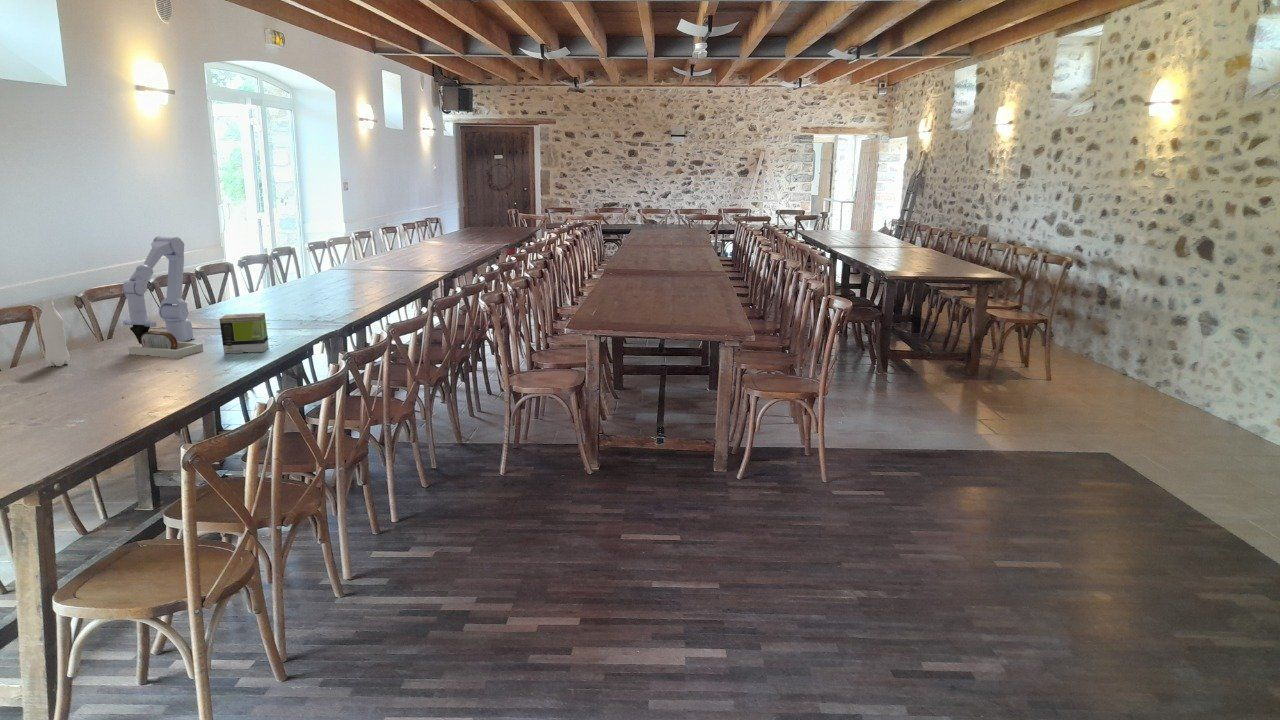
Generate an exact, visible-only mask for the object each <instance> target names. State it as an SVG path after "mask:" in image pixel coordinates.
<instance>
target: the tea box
mask: <svg viewBox="0 0 1280 720" xmlns="http://www.w3.org/2000/svg"><path fill="white" fill-rule="evenodd" d="M218 320H219V327H220V333H221V339H222V340H221V341H222V347H223V353H224V354H225V355H226V353H230V354H241V353H243V352H248V353H263V352H265V351H266V350H267V349H268V348H269V345H270V344H269V336H268V329H267V319H266V314H265V312H256V313H255V312H252V313H251V312H249V313H234V314H232V313H230V314H229V313H228V314H224V315H223V316H222V317H220V318H219V319H218ZM243 354H244V353H243Z"/></svg>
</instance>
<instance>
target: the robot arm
mask: <svg viewBox="0 0 1280 720" xmlns="http://www.w3.org/2000/svg"><path fill="white" fill-rule="evenodd" d="M150 245H151V249H150V251H149V253H148V255H147V256H146V258H145V260H144V262H143V264H140V265H137V266H136V267H135V270H134V272H133V273H132V275H131V276H130V277H129V279H128V280H125V282H123V284H122V287H121V291H122V293H123V294H124V295H125V299H126V300H127V301H126V302H127V306H128V307H127V308H128V313H129V319H124V320H122V325H123V326H131V327H129V329H130V331H131V332H132V333H133V334H134V337H135V338H136V340H137V342H138V345H142V344H141V336H142V334H144V333H146V332H148V331H150V329H151V328H156V327H157V322H156V321H153V320H149V319H148V313H147V308H146V300H145V294H146V293H147V291H148V282H149V281H150V279H152V276H153V275H154V270H153V268H154V267H155V266H156V265H157V264H158V262H159V261H160V260H161V258H162V257H163V256H164V257H166V259H167V260H168V271H167V283H166V285H167V286H166V297H165V298H163V299H162V300H161V303H160V306H159V309H158V314H159V317H160V318H161V319H163V322H164V324H165V330H166V331H165V332H169V333H171V334H172V335H173V336H174V337H175V338H176V340H177V342H188V341H192V340H195V339H196V338H195V337H194V332H193V325H192V322H191V320H190V319H187V318H188V316H189V310H188V309H189V308H188V303H187V301H186V300H184V299H183V298H182V297H183V284H184V283H183V282H184V281H183V280H184V269H185V267H184V266H185V242H184V241H183V240H182V239H181V238H180V237H179V236H162V235H161V236H160V235H158V236H156V237H154V239H153V240H152V242H151V243H150ZM191 339H192V340H191Z"/></svg>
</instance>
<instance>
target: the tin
mask: <svg viewBox="0 0 1280 720" xmlns="http://www.w3.org/2000/svg"><path fill="white" fill-rule="evenodd" d="M140 345H141V347H147V348H159V349H171V350H178V349H177V340H176V338H175V337H174V336H173V335H172V334H171V333H169V332H166V331H156V330H149V331H148V332H146V333H144V334H142V336H141V344H140Z"/></svg>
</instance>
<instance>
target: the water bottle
mask: <svg viewBox="0 0 1280 720" xmlns="http://www.w3.org/2000/svg"><path fill="white" fill-rule="evenodd" d="M41 301H42V312H41V314H40V316H39V320H38V324H39V329H40V333H41V338H42V341H43V345H44V348H45V349H44V350H45V351H44V352H45V354H44V358H45V362H46V363H47V365H48V366H49V367H51V366H53V367H55V366H56V367H57V366H60V367H63V366H62V365H64V364H68V365H69V364H70V361H71V357H70V356H71V355H70V353H69V350H68V348H67V341H66V336H67V335H66V331H65V323H64V318H63V317H62V315H61V314H60V313H59V311H57V309H56V308H55V303H54V300H53V298H43V299H42V300H41Z"/></svg>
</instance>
